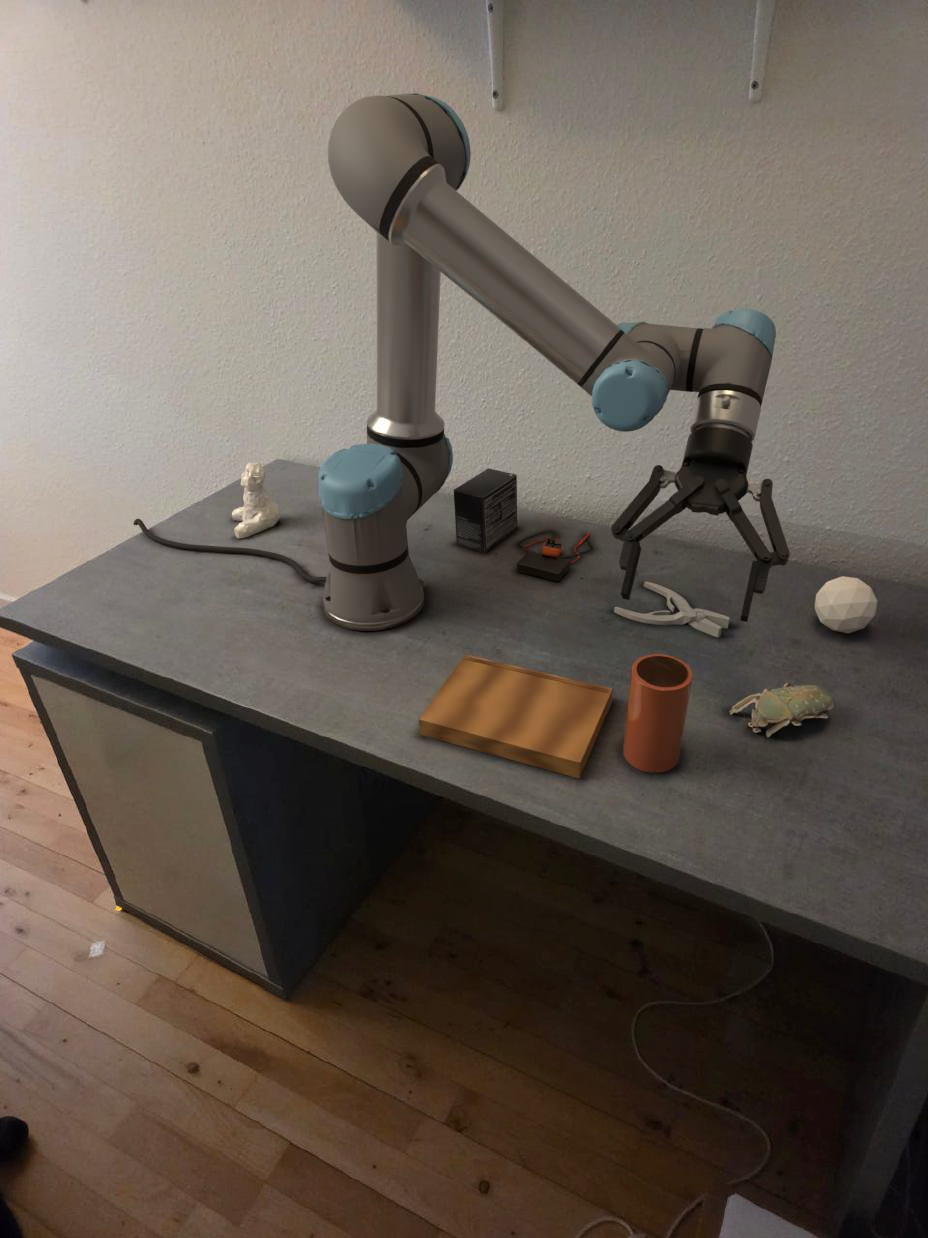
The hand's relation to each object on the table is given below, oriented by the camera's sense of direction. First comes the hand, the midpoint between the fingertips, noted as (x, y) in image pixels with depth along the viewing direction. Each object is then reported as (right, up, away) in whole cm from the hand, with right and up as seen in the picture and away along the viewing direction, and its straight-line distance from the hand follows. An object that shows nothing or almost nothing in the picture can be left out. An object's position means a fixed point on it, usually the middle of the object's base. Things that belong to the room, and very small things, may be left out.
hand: (682, 607), depth 91 cm
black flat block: (-11, +10, +41) cm, 44 cm away
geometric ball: (+28, -3, +20) cm, 34 cm away
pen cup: (-4, -17, 0) cm, 17 cm away
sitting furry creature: (-63, +16, +53) cm, 84 cm away
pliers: (+6, -1, +24) cm, 25 cm away
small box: (-21, +13, +46) cm, 52 cm away
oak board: (-19, -14, +6) cm, 24 cm away
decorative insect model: (+13, -13, +5) cm, 19 cm away
